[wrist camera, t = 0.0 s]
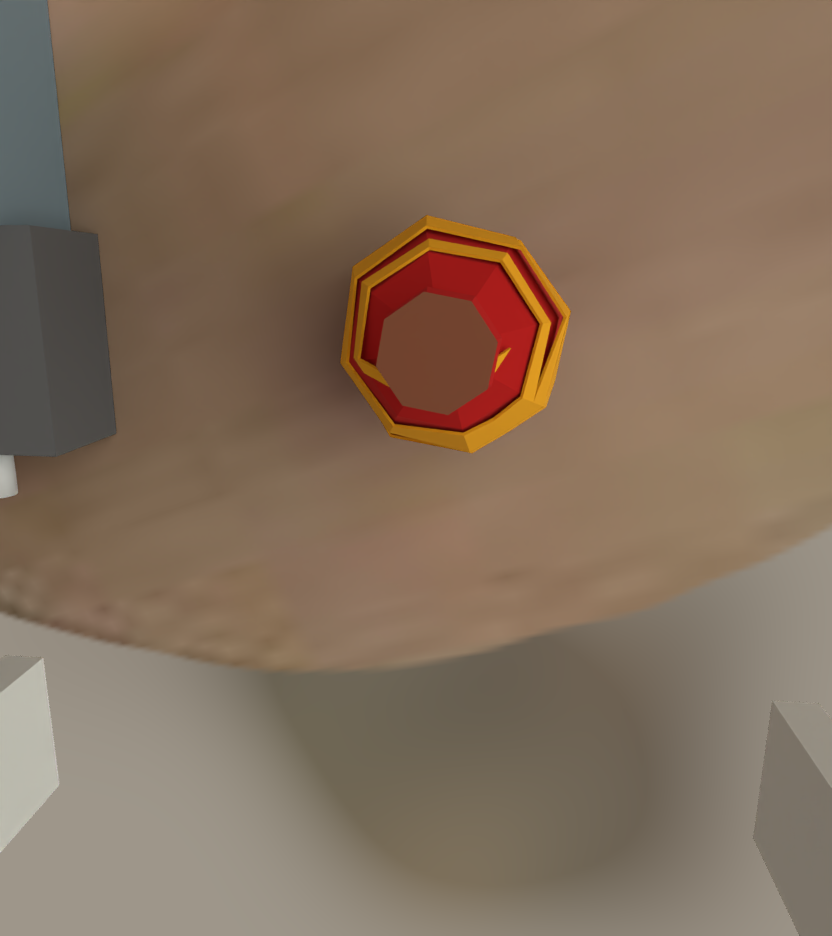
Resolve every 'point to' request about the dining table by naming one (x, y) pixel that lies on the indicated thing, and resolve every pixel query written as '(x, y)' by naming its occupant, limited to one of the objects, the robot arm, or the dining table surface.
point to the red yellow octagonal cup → (453, 334)
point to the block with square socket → (43, 267)
